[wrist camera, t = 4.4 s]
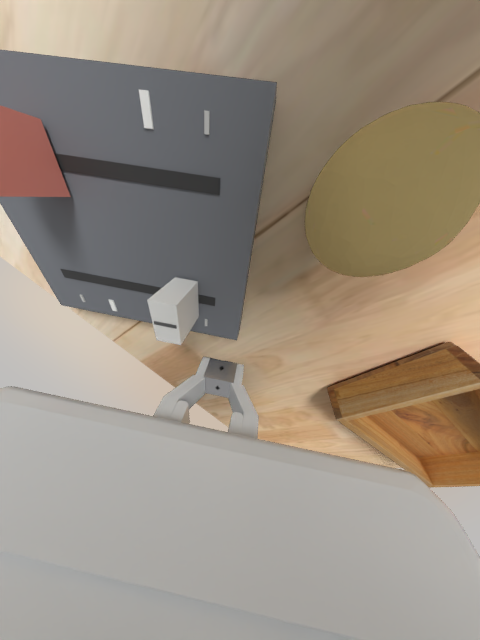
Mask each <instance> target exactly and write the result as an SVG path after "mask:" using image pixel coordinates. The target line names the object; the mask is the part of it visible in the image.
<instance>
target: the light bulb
mask: <svg viewBox="0 0 480 640" xmlns="http://www.w3.org/2000/svg"><path fill="white" fill-rule="evenodd" d="M479 203H480V113H479V112H477V111H475V110H473V109H471V108H469V107H467V106H465V105H461V104H457V103H449V102H428V103H422V104H415V105H409V106H407V107H404V108H401V109H398V110H396V111H393V112H390V113H388V114H386V115H384V116H382V117H380V118H378V119H377V120H375V121H373V122H371V123H370V124H368V125H366V126H364V127H363V128H361V129H360V130H359V131H358V132H356V133H355V134H354V135H353V136H351V137H350V138H349V139H348V140H347V141H346V142H345V143H344V144H343V145H342V146H341V147H340V148H339V149H338V150H337V151H336V152H335V153H334V155H333V156H332V157H331V158H330V159H329V161H328V162H327V163H326V165H325V166H324V168H323V169H322V171H321V172H320V174H319V175H318V177H317V180H316V182H315V184H314V186H313V188H312V190H311V193H310V196H309V199H308V203H307V207H306V214H305V231H306V237H307V240H308V243H309V246H310V248H311V250H312V252H313V254H314V255H315V257H316V258H317V259H318V260H319V261H320V262H321V263H322V264H323V265H324V266H326V267H327V268H329V269H330V270H332V271H335V272H337V273H339V274H342V275H347V276H354V277H368V276H378V275H384V274H388V273H392V272H395V271H398V270H402V269H405V268H408V267H410V266H412V265H414V264H416V263H418V262H420V261H423V260H425V259H427V258H429V257H430V256H432V255H434V254H436V253H437V252H439V251H440V250H441V249H442V248H444V247H445V246H446V245H448V244H449V243H450V242H451V241H452V240H453V239H454V238H455V237H456V236H457V235H458V233H459V232H460V231H461V230H462V229H463V227H464V226H465V225H466V224H467V222H468V221H469V219H470V218H471V216H472V214H473V213H474V211H475V209H476V208H477V206H478V205H479Z"/></svg>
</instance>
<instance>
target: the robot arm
mask: <svg viewBox="0 0 480 640" xmlns="http://www.w3.org/2000/svg"><path fill="white" fill-rule="evenodd" d="M243 372H244V365H243V364H238V363H233V362H228V361H221V360H217V359H213V358H208V357H203V358H202V361H201V363H200V365H199V368H198V370H197V372H196V375H193V376H191V377H190V378H188V379H187V380H186V381H184V382H183V383H181V384H180V385H179V386H177V387H176V388H174V389H173V390H172V391H170V392H169V393H168V394H166V395H165V396H164V397H163V399H162V401H161V403H160V405H159V406H158V408H157V410H156V412H155V414H154V415H153V416H149V415H144V414H140V413H135V412H130V411H125V410H121V409H116V408H112V407H107V406H102V405H98V404H93V403H88V402H83V401H79V400H74V399H69V398H65V397H60V396H56V395H51V394H46V393H42V392H37V391H32V390H28V389H23V388H18V387H12V386H11V387H4V388H0V640H480V556H479V555H478V553H477V551H476V549H475V548H474V546H473V544H472V542H471V541H470V539H469V537H468V535H467V534H466V532H465V530H464V529H463V527H462V525H461V524H460V522H459V521H458V519H457V518H456V516H455V515H454V514H453V512H452V511H451V510H450V509H449V508H448V507H447V506H446V504H444V502H442V500H441V499H440V498H439V497H438V496H437V495H436V494H435V493H434V492H433V491H432V490H430V488H429V487H428V486H427V485H426V484H425V483H424V482H423V481H421V480H420V479H419V478H418V477H417V476H416V475H415V474H413V473H411V472H408V471H405V470H401V469H396V468H391V467H387V466H382V465H377V464H373V463H368V462H363V461H359V460H354V459H349V458H345V457H340V456H335V455H331V454H326V453H321V452H317V451H312V450H307V449H303V448H298V447H293V446H289V445H284V444H279V443H275V442H270V441H265V440H261V439H257V438H258V414H257V412H256V410H255V408H254V406H253V404H252V402H251V400H250V398H249V395H248V393H247V391H246V389H245V387H244V385H242V379H243ZM205 393H207V394H213V395H218V396H222V397H226V398H228V399H229V402H230V405H231V408H232V411H233V413H232V416H231V420H230V425H229V429H228V432H224V431H219V430H214V429H210V428H205V427H200V426H195V425H191V424H189V422H190V421H189V409H190V408H191V407H192V406H193V405H194V404H195V403H196V402H197V401H198V400H199V399H200V398H201V397H202V396H203V395H204V394H205Z"/></svg>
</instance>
